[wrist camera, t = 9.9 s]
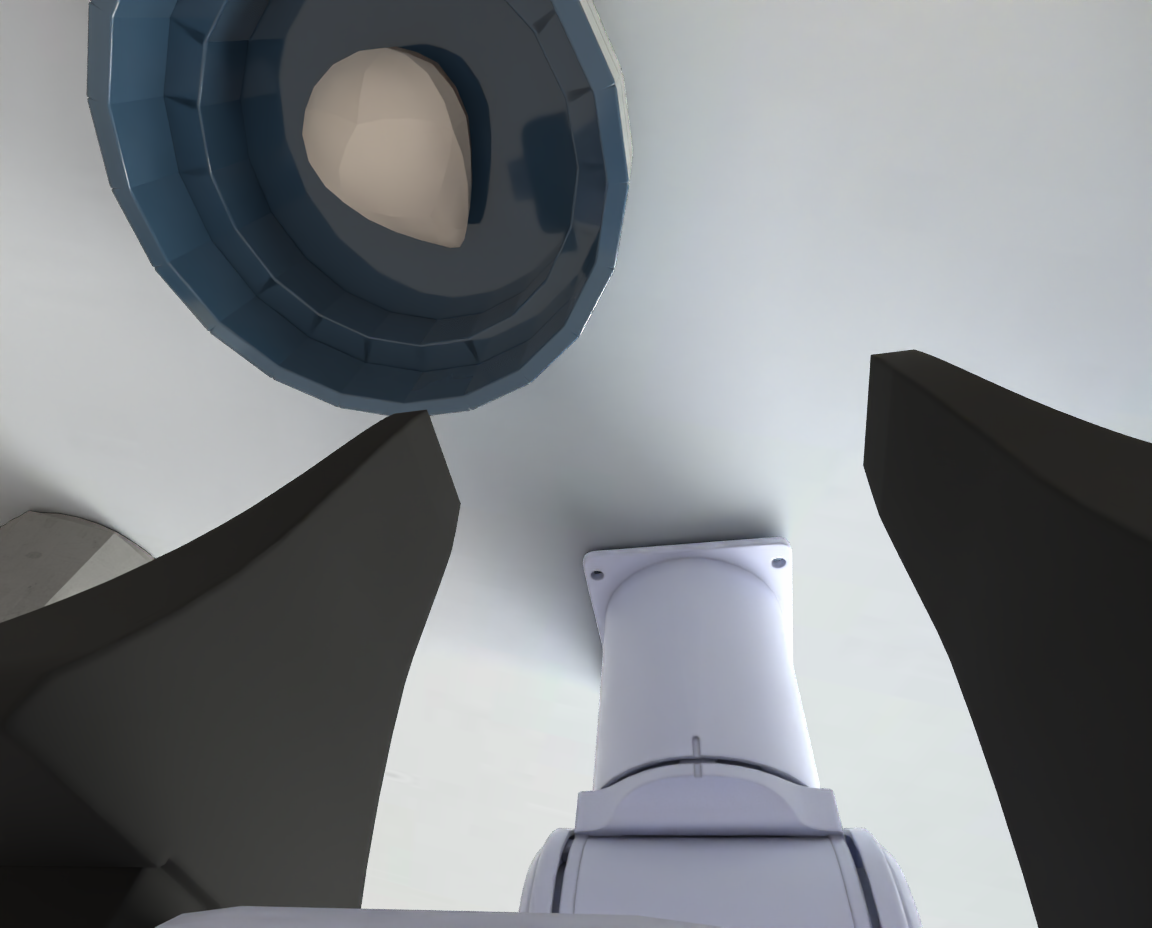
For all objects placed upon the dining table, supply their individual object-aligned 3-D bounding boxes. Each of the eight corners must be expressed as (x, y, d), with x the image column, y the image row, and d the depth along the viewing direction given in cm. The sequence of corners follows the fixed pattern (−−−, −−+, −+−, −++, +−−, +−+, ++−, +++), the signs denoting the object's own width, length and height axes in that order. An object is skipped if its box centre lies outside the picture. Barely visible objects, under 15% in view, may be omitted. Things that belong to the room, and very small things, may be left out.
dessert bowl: (655, 322, 21) (656, 388, 17) (310, 370, 23) (244, 438, 19) (590, -198, 14) (569, -275, 10) (117, -62, 16) (-40, -87, 13)
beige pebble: (423, 9, 16) (390, 8, 14) (531, 197, 18) (516, 219, 16) (299, 107, 18) (252, 119, 16) (413, 269, 20) (385, 298, 18)
